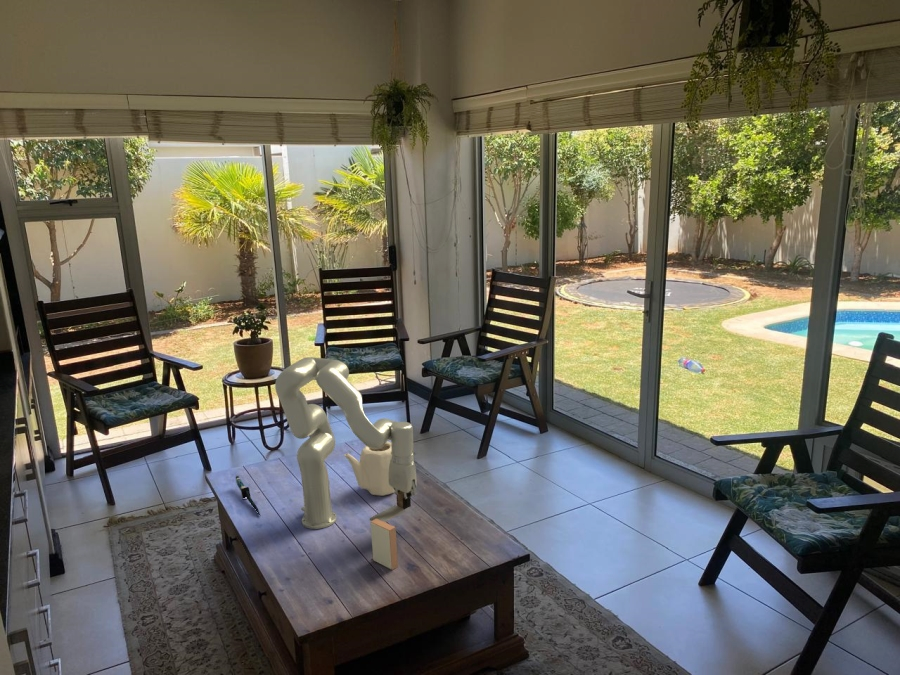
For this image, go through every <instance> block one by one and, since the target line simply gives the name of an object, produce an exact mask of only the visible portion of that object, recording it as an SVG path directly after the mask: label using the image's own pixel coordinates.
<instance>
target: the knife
mask: <svg viewBox="0 0 900 675" xmlns="http://www.w3.org/2000/svg"><path fill="white" fill-rule="evenodd" d="M235 483H236V485H237V486H238V487H237V488H239V490H240V493H241V499H242V498H245V497H247V499H246V500H248V502H249V504H250V503H251V504H250V505H251V507H252V506H253V507H254V508H255V509H256V511H257V512H258V513H257V512H256V511H255V512H256V513H257V515H258V514H259V515H260V516H259V515H258V516H259V517H261V513H260V510H259V508H258V506H257V505H256V503H255V501H254V500H253V498H252V497H251V493H250V487H249V486H245V485H244V483H243V481H242V479H241V478H240V476H239V475H236V476H235ZM253 507H252V508H253ZM254 508H253V509H254Z"/></svg>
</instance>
